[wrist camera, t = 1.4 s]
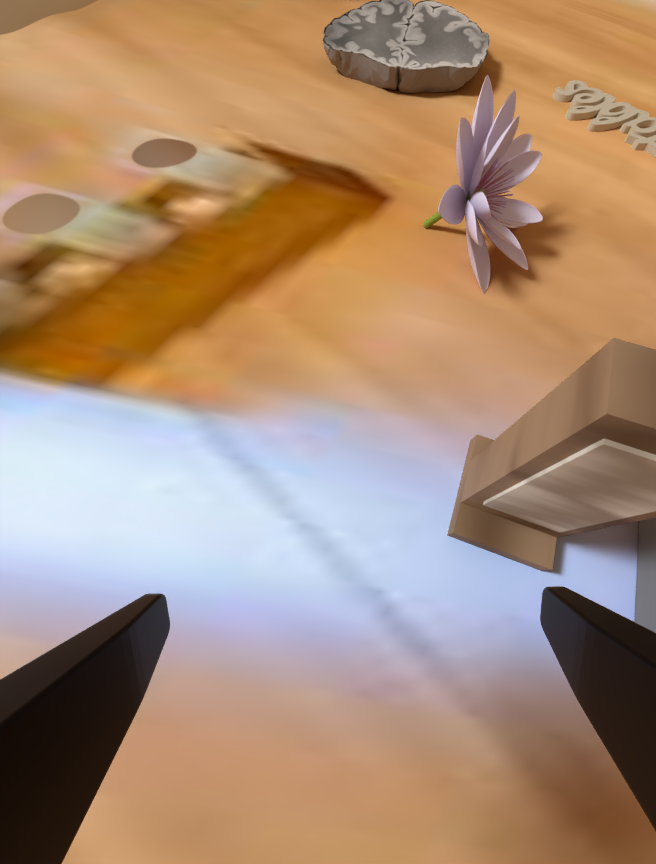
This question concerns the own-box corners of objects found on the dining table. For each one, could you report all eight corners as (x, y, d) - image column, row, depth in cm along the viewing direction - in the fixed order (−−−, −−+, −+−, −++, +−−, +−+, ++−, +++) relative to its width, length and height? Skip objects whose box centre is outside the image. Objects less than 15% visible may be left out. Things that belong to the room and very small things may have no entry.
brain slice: (482, 39, 49) (492, 6, 46) (476, 110, 42) (486, 77, 40) (340, 23, 50) (340, -9, 48) (312, 89, 44) (311, 56, 41)
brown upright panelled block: (555, 469, 25) (806, 345, 12) (541, 570, 23) (838, 552, 9) (470, 440, 26) (617, 294, 13) (447, 535, 23) (601, 472, 10)
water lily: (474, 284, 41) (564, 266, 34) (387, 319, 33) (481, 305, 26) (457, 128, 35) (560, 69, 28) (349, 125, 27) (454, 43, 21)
